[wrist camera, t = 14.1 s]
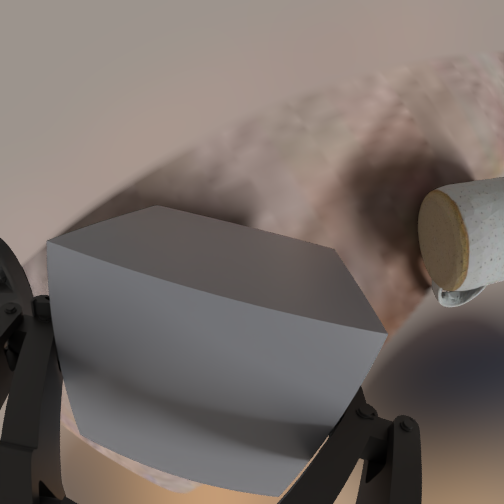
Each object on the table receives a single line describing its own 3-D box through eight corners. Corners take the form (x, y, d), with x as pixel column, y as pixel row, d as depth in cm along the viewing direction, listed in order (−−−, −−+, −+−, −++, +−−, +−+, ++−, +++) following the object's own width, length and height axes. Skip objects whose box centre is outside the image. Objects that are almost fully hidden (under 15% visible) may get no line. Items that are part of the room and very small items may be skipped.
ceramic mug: (406, 184, 18) (465, 195, 11) (481, 173, 17) (543, 182, 10) (413, 310, 21) (455, 362, 14) (482, 287, 20) (530, 324, 12)
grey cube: (143, 348, 18) (80, 434, 10) (156, 205, 15) (46, 240, 7) (283, 387, 18) (278, 497, 9) (334, 249, 15) (387, 334, 7)
